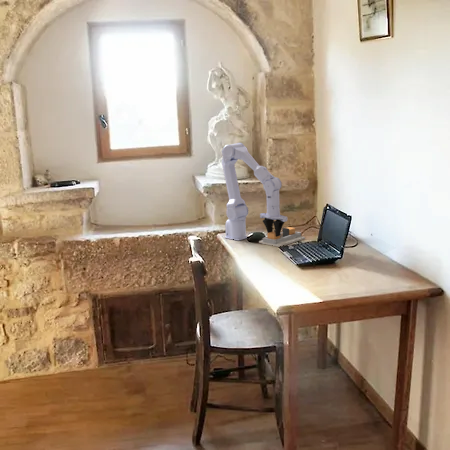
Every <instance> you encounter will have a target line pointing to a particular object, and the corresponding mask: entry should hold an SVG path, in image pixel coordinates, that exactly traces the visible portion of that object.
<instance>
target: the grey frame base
mask: <svg viewBox="0 0 450 450" xmlns="http://www.w3.org/2000/svg"><path fill="white" fill-rule="evenodd" d="M280 234H281V238H279V239H276V240H274V239H269V238H268V236H264V237H262V239H261V240H259V241H258V243H259V244H263V245H268V246H272V245H273V247H277V248H280V246H281V247H284V246H286V245H289V244H293V243H297V242H299V241H302V240H305V239H306V237H305V236H302V232H300V231H296V228H295V227H289V226H287V227H282V232H281V233H280ZM283 245H284V246H283Z"/></svg>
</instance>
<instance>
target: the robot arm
mask: <svg viewBox="0 0 450 450" xmlns="http://www.w3.org/2000/svg"><path fill="white" fill-rule="evenodd" d="M221 155H222V158H221V165H222V172H223V176H224V181H225V185H226V191H227V196H228V202H227V203H226V205H225V206H226V217H227V218H228V219H227V220H226V221H225V236H224V238H225V239H228V240H229V239H230V240H233V239H234V240H233V241H242V240H245V239H248V238H247V236H248V235H247V227H246V225H247V224H246V219H247V216H249V207H248V206H247V204H246V201H245V200H244V199H243V198H242V197H241V196H242V195H241V191H240V187H239V181H238V176H237V172H236V167H235V164H236V163H237V162H238V160H241V161H243V162H244V163H245V164H246V165H247V166H248V167H249V168H250V169H251V170H252V171H253V175H254V177H255V178H256V179H257V180H258V181H259V182H260V183H261V184H262V185H263V186H262V187H263V190H264V192H265V195H266V198H265V199H266V213H264V212H262V213H259V219H262V223H263V224H264V226H265V228H266V231H267V233H270V232H274V230H275V234H276V237H277V236H280V233H281V231H282V230H283V226H284V224H285V222H288V216H285V215H282V214H281V212H280V211H281V210H280V209H281V208H280V204H281V203H280V190H281V188H282V183H283V182H282V181H281V179H280V178H279V177H278V176H277V177H276V176H274V175H273V174H272V173H271V172H270V171H269V170H268V168H267V167H266V166H263V165H260V164H259V163H258V162H257V161H256V159H255V158H254V157H253V156H252V155H251V153H250V152H249V151H248V148H247V147H246V146H245V143H243V142H236V143H231V144H225V145H224V147H222V149H221ZM273 226H274V230H273Z"/></svg>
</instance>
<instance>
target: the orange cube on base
mask: <svg viewBox="0 0 450 450" xmlns="http://www.w3.org/2000/svg"><path fill="white" fill-rule="evenodd" d="M266 237H268V238H269V239H274V240H276V239H279V238H281V234H280V236H277V237H276V234H275V229H274V230H273V232H270V233H268V232H267V236H266Z"/></svg>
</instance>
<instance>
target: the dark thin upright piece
mask: <svg viewBox="0 0 450 450" xmlns="http://www.w3.org/2000/svg"><path fill="white" fill-rule="evenodd" d="M326 207H327V206H324V207H323V209H322V215H321V219H320V225H319V231H318V235H317V243H318V242H319V241H321V240H322V234H321V225H322V221H323V217H324V212H325V209H326Z"/></svg>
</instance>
